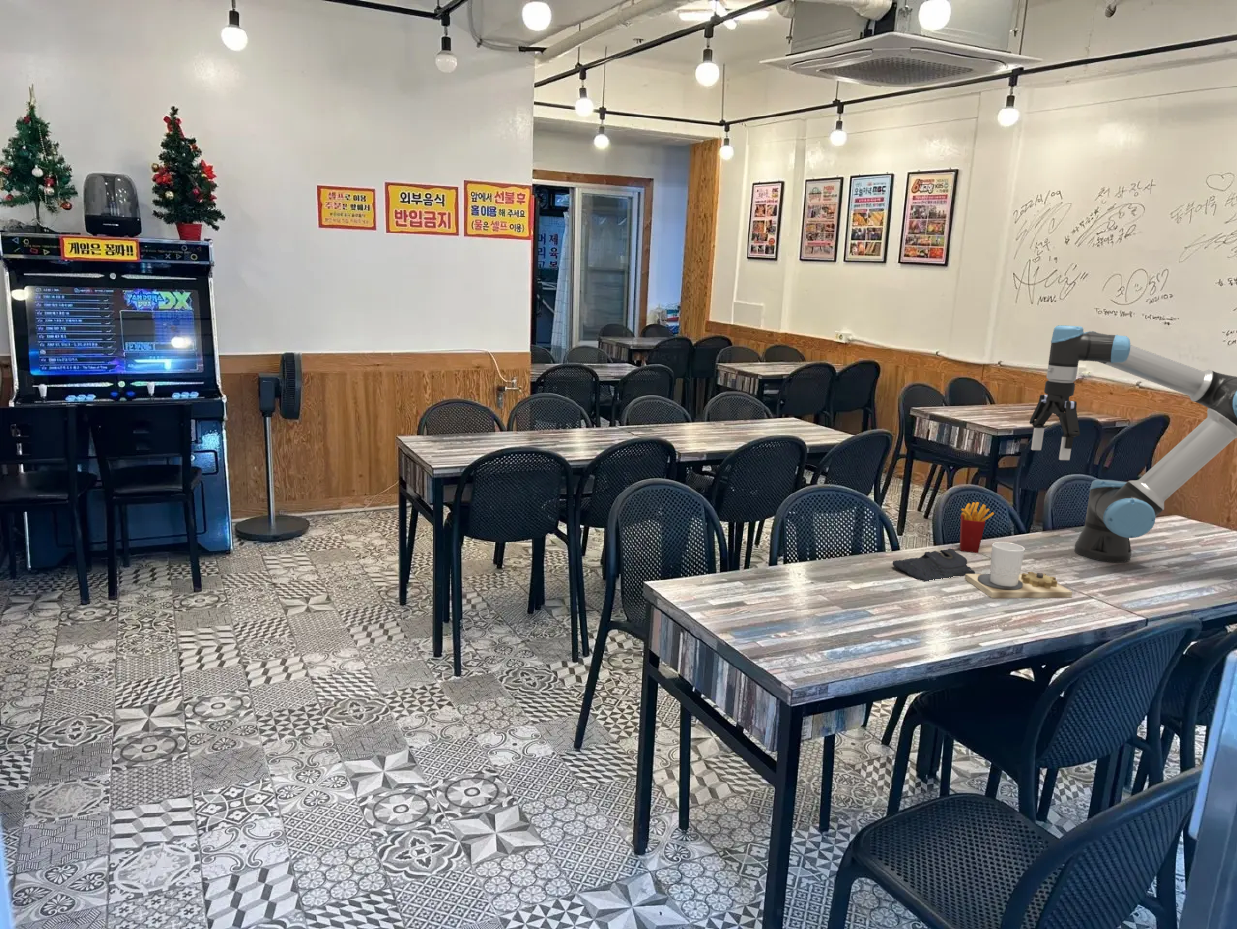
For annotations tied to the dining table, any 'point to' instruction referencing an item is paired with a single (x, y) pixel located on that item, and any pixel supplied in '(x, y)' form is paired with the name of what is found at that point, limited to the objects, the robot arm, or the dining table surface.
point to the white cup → (1006, 563)
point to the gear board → (1021, 586)
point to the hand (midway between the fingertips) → (1049, 454)
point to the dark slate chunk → (935, 565)
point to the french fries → (972, 527)
